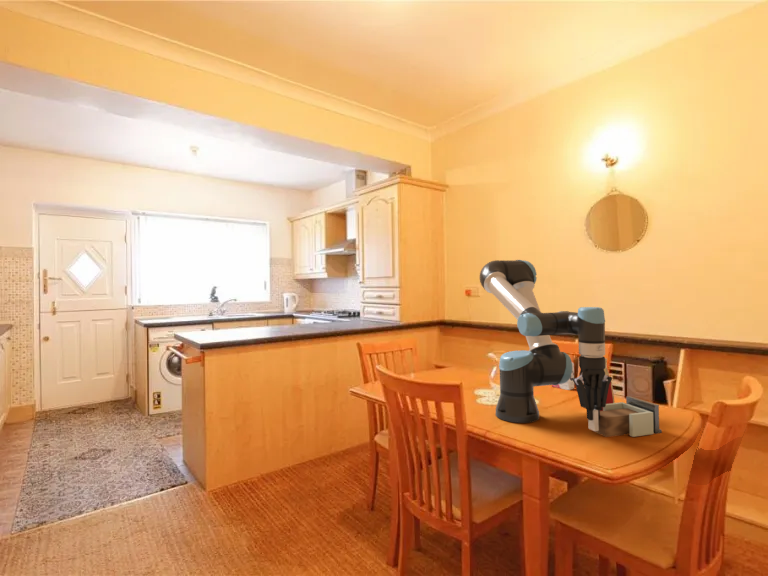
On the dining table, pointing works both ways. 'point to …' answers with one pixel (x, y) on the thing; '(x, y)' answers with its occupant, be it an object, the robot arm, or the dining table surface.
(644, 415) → the socket block
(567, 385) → the ink box
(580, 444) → the dining table surface
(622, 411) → the walnut bar
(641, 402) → the plate
